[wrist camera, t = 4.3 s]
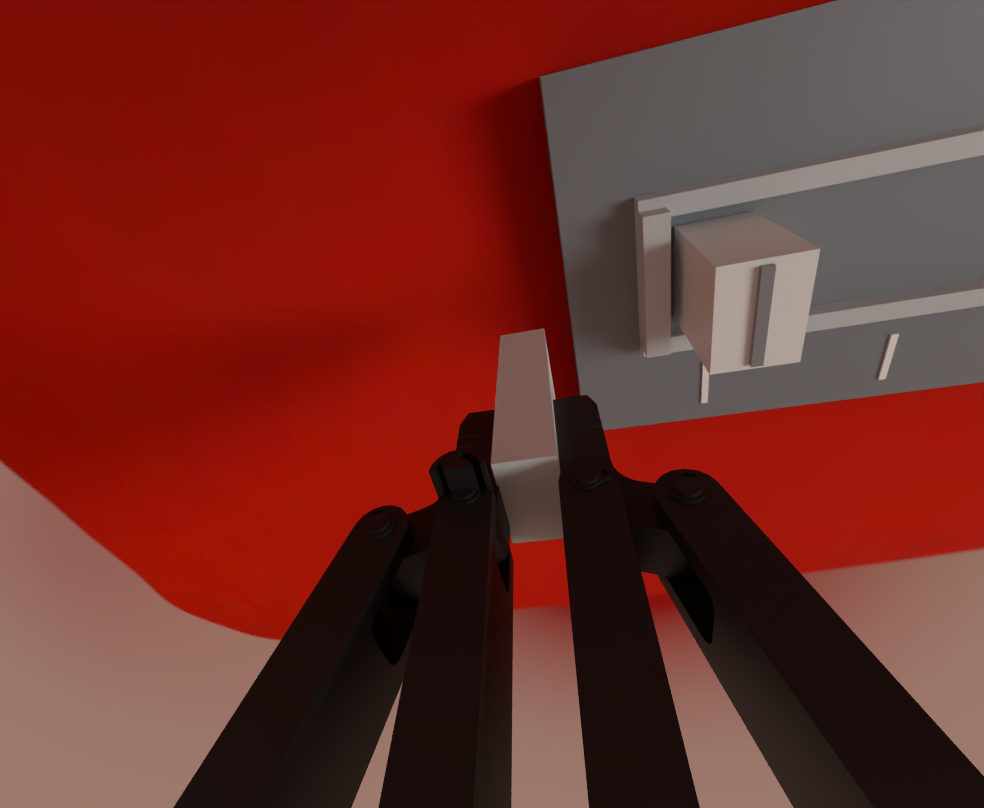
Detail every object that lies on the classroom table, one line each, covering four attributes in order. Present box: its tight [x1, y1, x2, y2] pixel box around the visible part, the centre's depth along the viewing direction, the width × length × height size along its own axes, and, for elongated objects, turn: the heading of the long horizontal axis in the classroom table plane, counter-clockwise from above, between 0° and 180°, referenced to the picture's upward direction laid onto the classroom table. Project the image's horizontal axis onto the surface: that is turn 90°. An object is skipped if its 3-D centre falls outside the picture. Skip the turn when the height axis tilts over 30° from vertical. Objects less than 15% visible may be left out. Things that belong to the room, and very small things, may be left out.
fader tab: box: [674, 211, 820, 375], centre depth 17 cm, size 4×3×5 cm
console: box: [539, 0, 984, 430], centre depth 18 cm, size 16×32×4 cm, turn 102°
